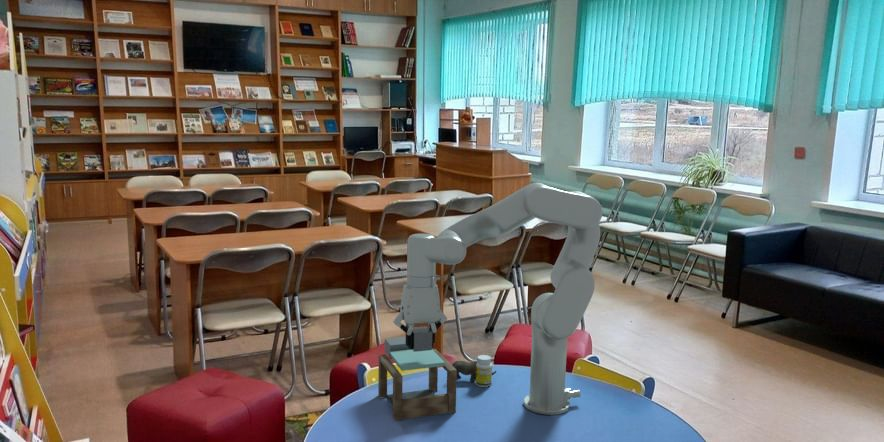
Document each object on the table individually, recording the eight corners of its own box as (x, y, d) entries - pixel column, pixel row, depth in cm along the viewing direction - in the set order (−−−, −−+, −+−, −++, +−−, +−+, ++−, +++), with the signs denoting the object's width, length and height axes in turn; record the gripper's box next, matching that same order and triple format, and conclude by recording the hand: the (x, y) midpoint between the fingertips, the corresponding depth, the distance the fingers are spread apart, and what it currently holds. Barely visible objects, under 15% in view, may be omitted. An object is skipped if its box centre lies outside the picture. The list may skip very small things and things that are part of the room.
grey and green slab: (423, 347, 202) (423, 334, 201) (445, 371, 184) (445, 356, 184) (382, 352, 198) (382, 338, 197) (400, 376, 180) (401, 361, 179)
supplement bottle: (476, 380, 206) (477, 353, 205) (492, 381, 205) (493, 355, 204) (474, 386, 202) (475, 359, 200) (490, 388, 201) (491, 360, 199)
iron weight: (426, 343, 187) (426, 326, 186) (432, 349, 182) (432, 331, 182) (408, 345, 185) (408, 327, 184) (414, 351, 181) (414, 333, 180)
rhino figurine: (496, 383, 204) (496, 364, 203) (449, 381, 205) (450, 362, 204) (495, 378, 208) (496, 359, 207) (450, 376, 209) (451, 357, 208)
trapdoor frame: (435, 388, 200) (435, 348, 198) (455, 412, 184) (456, 370, 182) (378, 395, 194) (378, 354, 193) (394, 421, 179) (395, 377, 177)
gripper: (446, 275, 187) (445, 339, 190) (386, 279, 182) (385, 345, 184) (456, 282, 180) (454, 348, 183) (393, 286, 175) (393, 354, 177)
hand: (420, 346), depth 184 cm, fingers closed on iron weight, 5 cm apart
